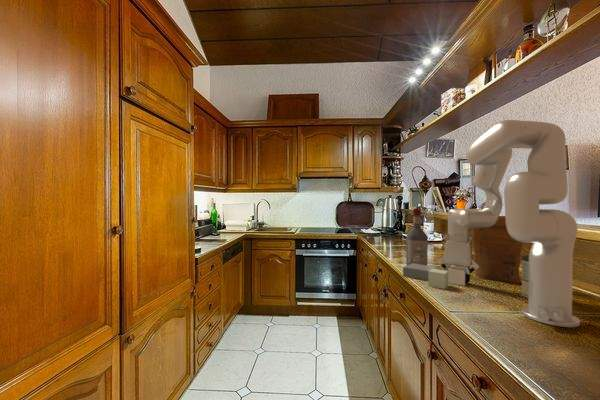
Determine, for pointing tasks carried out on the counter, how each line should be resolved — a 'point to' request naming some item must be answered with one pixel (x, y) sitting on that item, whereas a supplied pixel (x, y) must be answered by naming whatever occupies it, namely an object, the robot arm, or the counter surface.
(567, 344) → the counter surface
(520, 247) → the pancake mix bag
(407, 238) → the liquor
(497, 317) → the counter surface
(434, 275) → the sage block
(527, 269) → the coffee can
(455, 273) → the cream block
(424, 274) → the pedestal
